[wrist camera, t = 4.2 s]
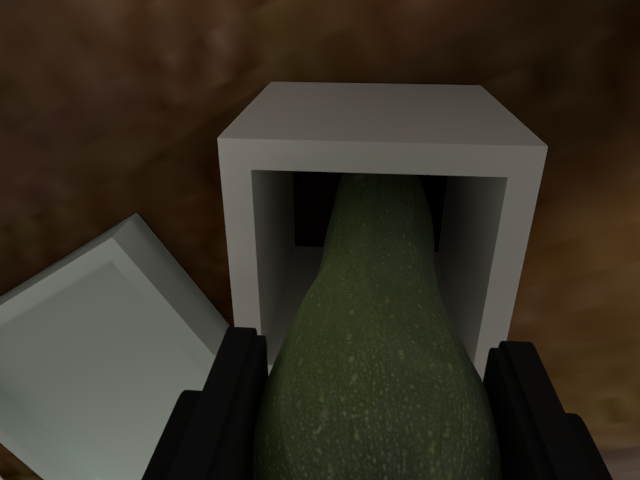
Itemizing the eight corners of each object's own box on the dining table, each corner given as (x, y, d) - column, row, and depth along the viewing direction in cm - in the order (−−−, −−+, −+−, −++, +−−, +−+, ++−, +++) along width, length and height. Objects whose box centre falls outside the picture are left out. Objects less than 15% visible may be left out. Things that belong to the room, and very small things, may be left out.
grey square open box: (270, 81, 20) (217, 138, 13) (480, 85, 19) (548, 146, 12) (278, 260, 23) (239, 383, 16) (453, 268, 23) (493, 398, 16)
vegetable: (424, 223, 22) (676, 1267, 4) (325, 233, 22) (175, 1181, 5) (418, 122, 20) (849, 1284, 2) (310, 136, 20) (-47, 1137, 3)
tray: (-57, 331, 27) (-94, 362, 25) (136, 212, 23) (111, 237, 20) (177, 542, 34) (164, 582, 32) (358, 481, 30) (357, 522, 27)
